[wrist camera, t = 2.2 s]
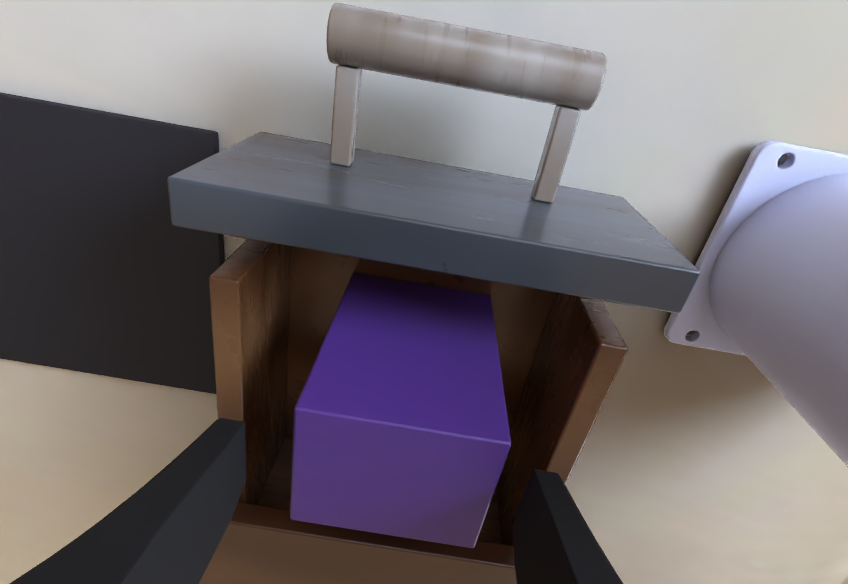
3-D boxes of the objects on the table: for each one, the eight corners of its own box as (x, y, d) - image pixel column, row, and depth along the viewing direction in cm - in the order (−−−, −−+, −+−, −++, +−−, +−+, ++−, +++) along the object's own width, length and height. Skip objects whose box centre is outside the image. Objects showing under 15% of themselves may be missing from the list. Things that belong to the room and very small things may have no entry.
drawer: (258, -11, 14) (142, -38, 9) (673, 67, 14) (797, 85, 9) (261, 425, 22) (203, 542, 17) (519, 467, 22) (538, 594, 17)
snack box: (491, 295, 17) (512, 444, 11) (468, 381, 19) (474, 549, 13) (353, 271, 17) (293, 408, 10) (344, 360, 19) (289, 520, 12)
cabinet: (255, 364, 21) (165, 512, 15) (545, 413, 22) (585, 578, 15) (257, 554, 28) (197, 712, 22) (477, 588, 29) (484, 753, 22)
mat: (218, 131, 17) (213, 133, 16) (230, 390, 22) (227, 396, 22) (-307, 36, 16) (-323, 37, 16) (-156, 326, 22) (-166, 331, 21)
